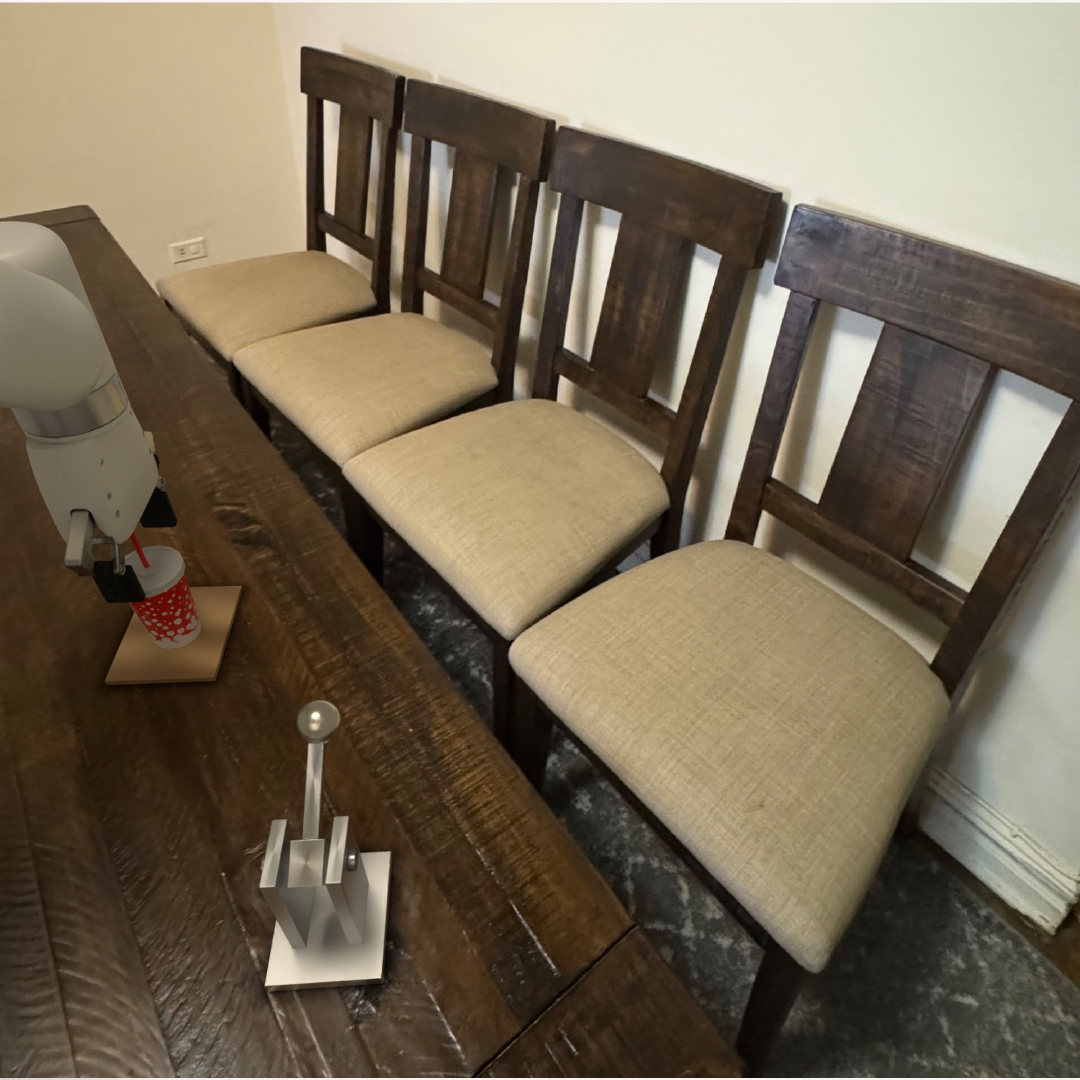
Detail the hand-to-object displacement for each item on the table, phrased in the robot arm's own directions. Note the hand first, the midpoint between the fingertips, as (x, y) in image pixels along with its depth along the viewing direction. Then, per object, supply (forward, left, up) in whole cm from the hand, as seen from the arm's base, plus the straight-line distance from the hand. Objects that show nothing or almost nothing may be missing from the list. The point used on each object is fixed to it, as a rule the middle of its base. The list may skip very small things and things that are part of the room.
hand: (144, 560), depth 68 cm
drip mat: (0, 0, -10) cm, 10 cm away
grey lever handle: (-24, -19, 0) cm, 30 cm away
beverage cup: (0, 0, -10) cm, 10 cm away
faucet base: (-28, -19, -10) cm, 36 cm away
